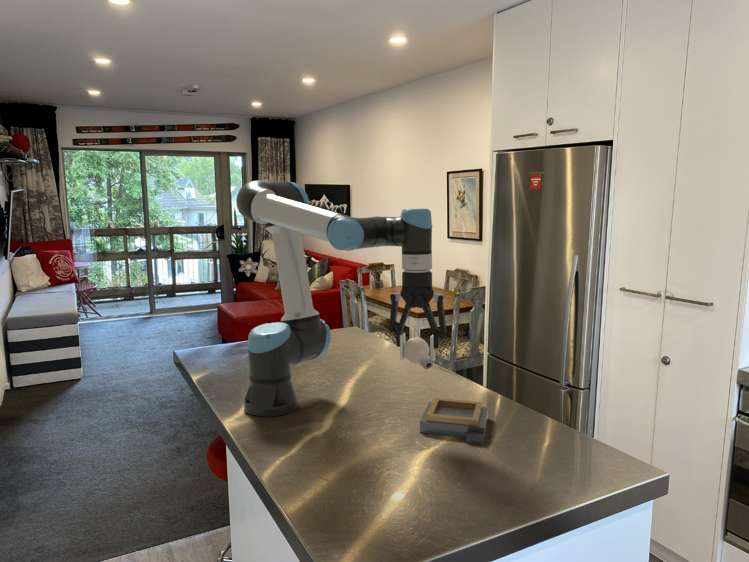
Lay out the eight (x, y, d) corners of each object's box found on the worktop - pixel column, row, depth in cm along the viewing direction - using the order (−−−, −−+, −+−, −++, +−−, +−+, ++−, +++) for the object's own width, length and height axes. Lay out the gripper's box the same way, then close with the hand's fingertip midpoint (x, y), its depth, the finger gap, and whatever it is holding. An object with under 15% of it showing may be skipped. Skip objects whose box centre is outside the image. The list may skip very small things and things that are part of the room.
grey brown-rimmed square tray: (417, 437, 137) (417, 419, 137) (431, 407, 158) (431, 391, 157) (482, 444, 133) (483, 426, 133) (488, 412, 153) (489, 397, 153)
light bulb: (440, 350, 134) (421, 329, 143) (415, 358, 132) (398, 336, 142) (442, 373, 137) (423, 350, 146) (417, 380, 135) (400, 357, 144)
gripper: (374, 271, 138) (376, 361, 141) (454, 273, 132) (454, 366, 135) (382, 268, 145) (384, 353, 148) (459, 269, 139) (459, 358, 142)
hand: (417, 359), depth 141 cm, fingers closed on light bulb, 7 cm apart
